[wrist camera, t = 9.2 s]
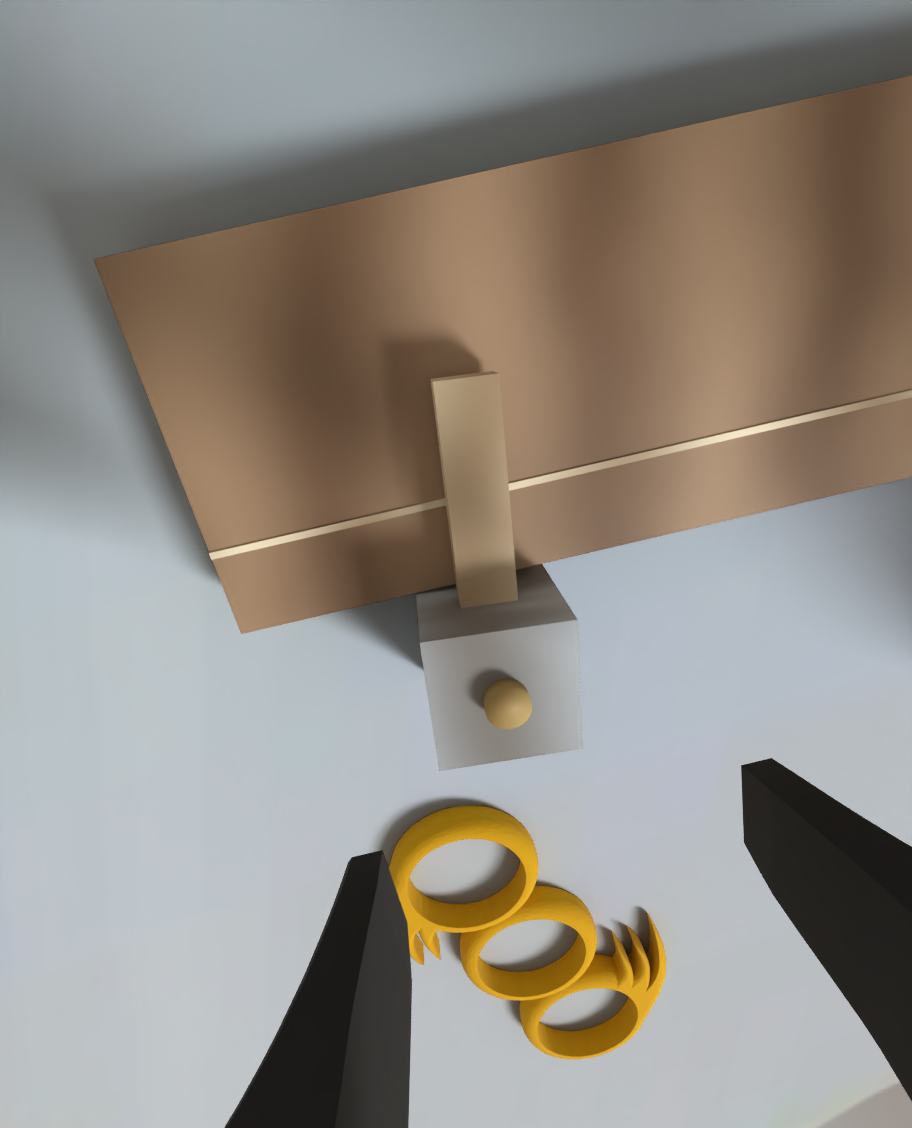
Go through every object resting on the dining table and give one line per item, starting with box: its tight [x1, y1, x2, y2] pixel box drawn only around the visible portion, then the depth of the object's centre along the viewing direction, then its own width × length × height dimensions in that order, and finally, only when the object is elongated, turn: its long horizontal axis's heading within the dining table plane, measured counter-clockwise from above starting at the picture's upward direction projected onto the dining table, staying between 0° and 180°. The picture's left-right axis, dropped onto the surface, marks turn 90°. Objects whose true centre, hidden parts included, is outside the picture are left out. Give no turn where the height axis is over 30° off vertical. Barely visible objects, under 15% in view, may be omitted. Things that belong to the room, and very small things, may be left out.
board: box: [94, 75, 912, 634], centre depth 17 cm, size 24×10×2 cm, turn 102°
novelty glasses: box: [389, 805, 666, 1059], centre depth 26 cm, size 17×2×10 cm
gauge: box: [416, 371, 583, 771], centre depth 17 cm, size 4×10×6 cm, turn 7°
